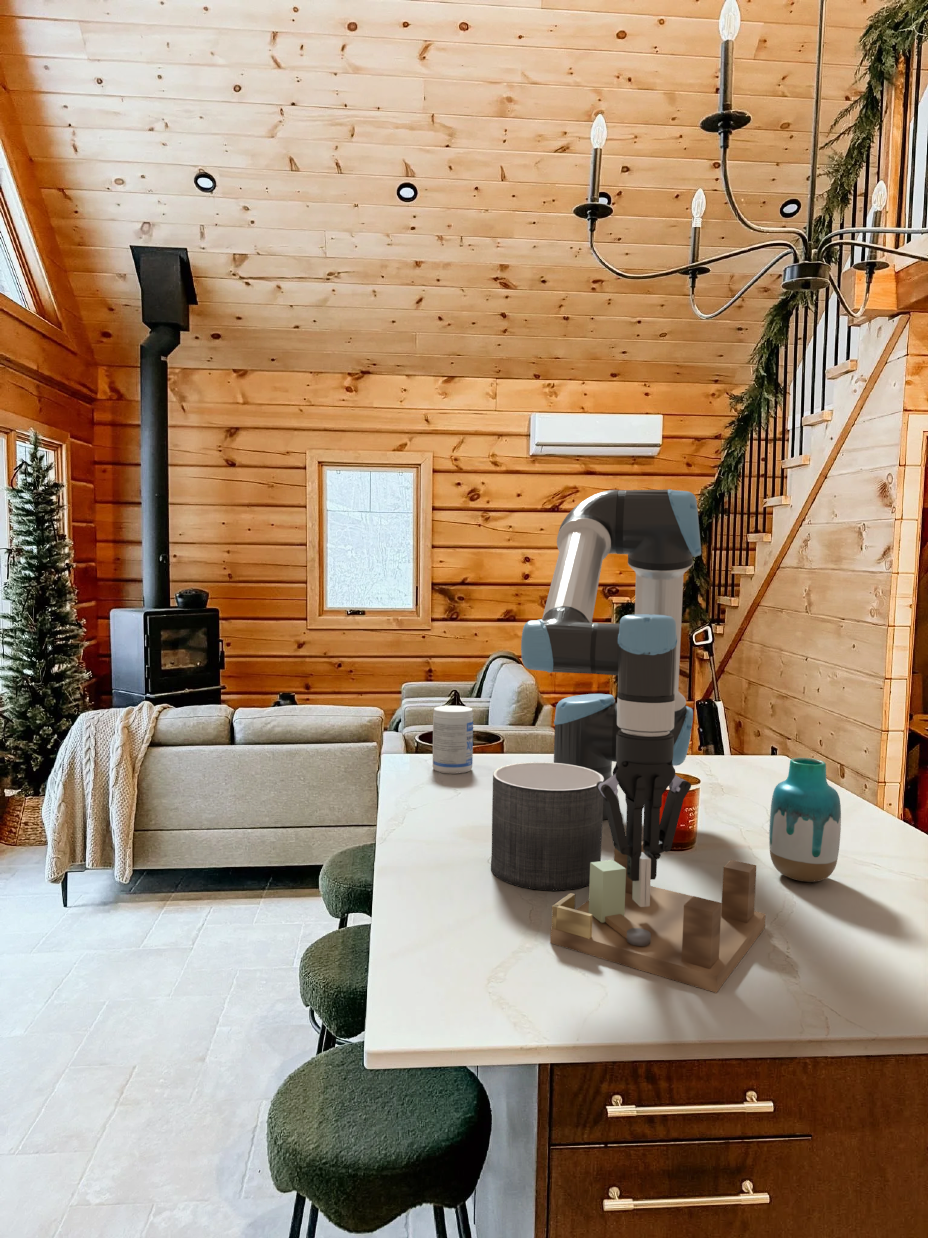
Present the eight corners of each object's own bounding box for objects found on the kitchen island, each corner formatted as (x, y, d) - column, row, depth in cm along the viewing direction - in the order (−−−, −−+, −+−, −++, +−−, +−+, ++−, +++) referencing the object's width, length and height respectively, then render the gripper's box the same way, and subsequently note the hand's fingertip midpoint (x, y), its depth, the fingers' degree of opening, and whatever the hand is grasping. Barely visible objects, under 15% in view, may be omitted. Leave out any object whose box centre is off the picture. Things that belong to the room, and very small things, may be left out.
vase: (834, 871, 141) (841, 757, 140) (840, 895, 131) (847, 772, 130) (766, 862, 145) (772, 751, 143) (767, 885, 135) (773, 765, 133)
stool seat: (550, 943, 113) (552, 876, 112) (617, 891, 131) (619, 833, 130) (716, 993, 101) (719, 918, 100) (764, 927, 119) (768, 864, 118)
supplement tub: (476, 774, 200) (477, 711, 199) (436, 775, 198) (437, 712, 197) (467, 764, 209) (468, 704, 208) (429, 765, 207) (430, 705, 206)
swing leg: (633, 948, 107) (635, 893, 106) (588, 912, 117) (590, 862, 117) (656, 944, 108) (659, 890, 108) (610, 909, 119) (612, 859, 118)
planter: (527, 899, 127) (530, 795, 126) (471, 861, 143) (473, 768, 142) (623, 881, 135) (627, 783, 134) (560, 846, 151) (563, 758, 150)
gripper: (677, 723, 119) (672, 889, 121) (589, 726, 117) (586, 895, 118) (703, 734, 112) (698, 910, 114) (610, 737, 109) (606, 917, 111)
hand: (640, 902), depth 116 cm, fingers closed
